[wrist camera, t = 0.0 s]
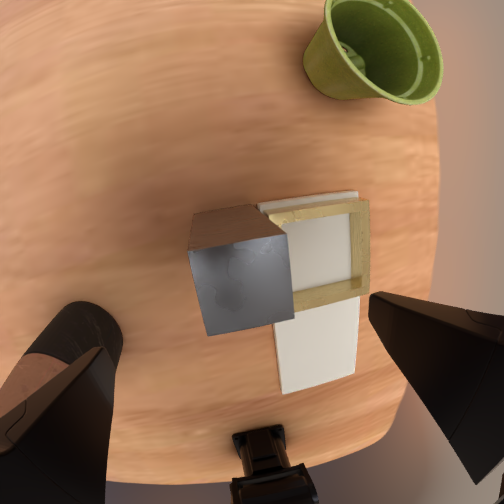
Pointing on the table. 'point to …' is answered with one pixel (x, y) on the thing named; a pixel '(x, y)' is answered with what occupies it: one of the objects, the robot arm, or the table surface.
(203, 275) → the block
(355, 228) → the frame
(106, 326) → the travel mug
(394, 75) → the plant pot
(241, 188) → the table surface
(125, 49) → the table surface
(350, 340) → the door board
